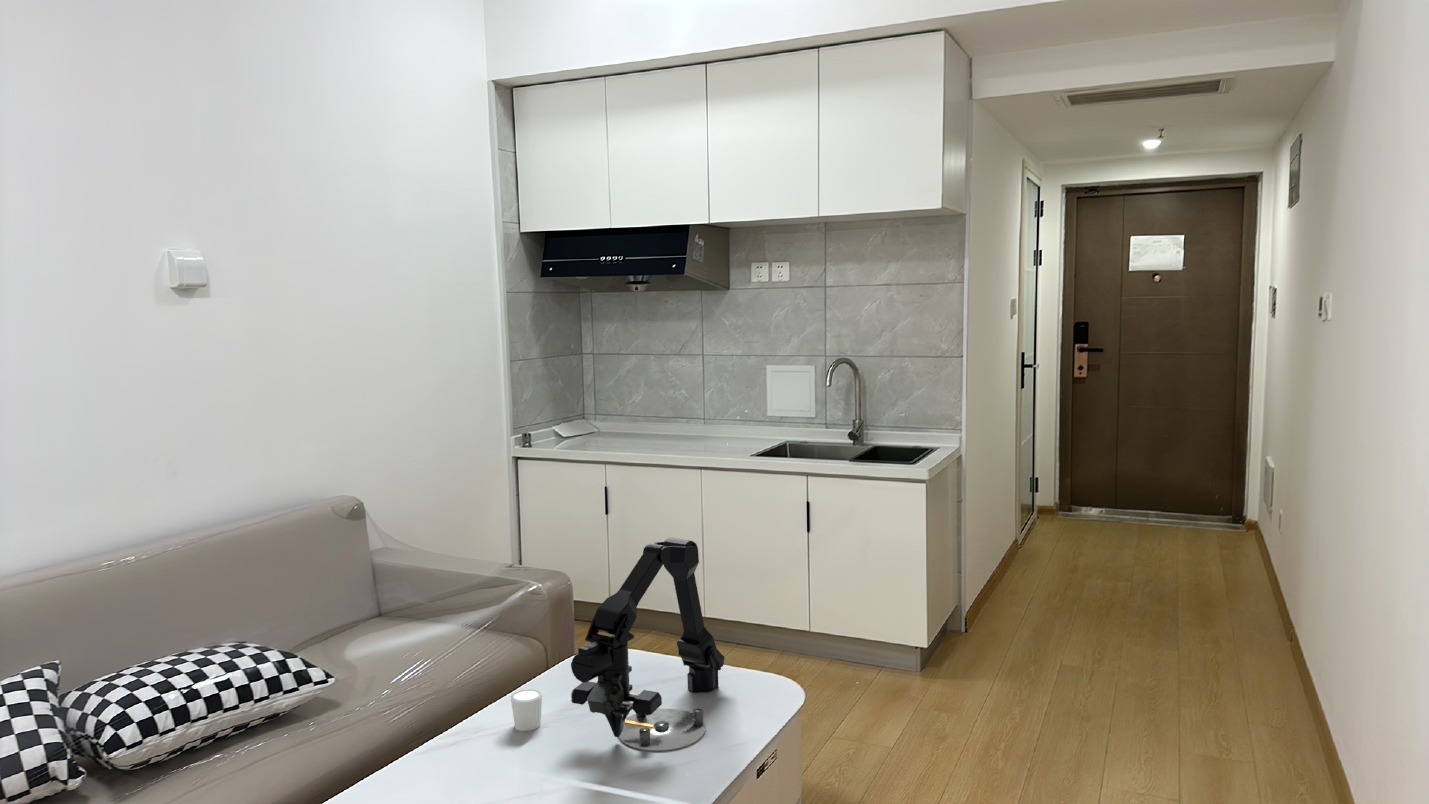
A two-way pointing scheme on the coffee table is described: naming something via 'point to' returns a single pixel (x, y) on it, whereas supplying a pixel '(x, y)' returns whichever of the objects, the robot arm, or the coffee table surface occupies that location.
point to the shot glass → (526, 709)
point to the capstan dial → (663, 730)
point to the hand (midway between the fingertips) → (617, 736)
